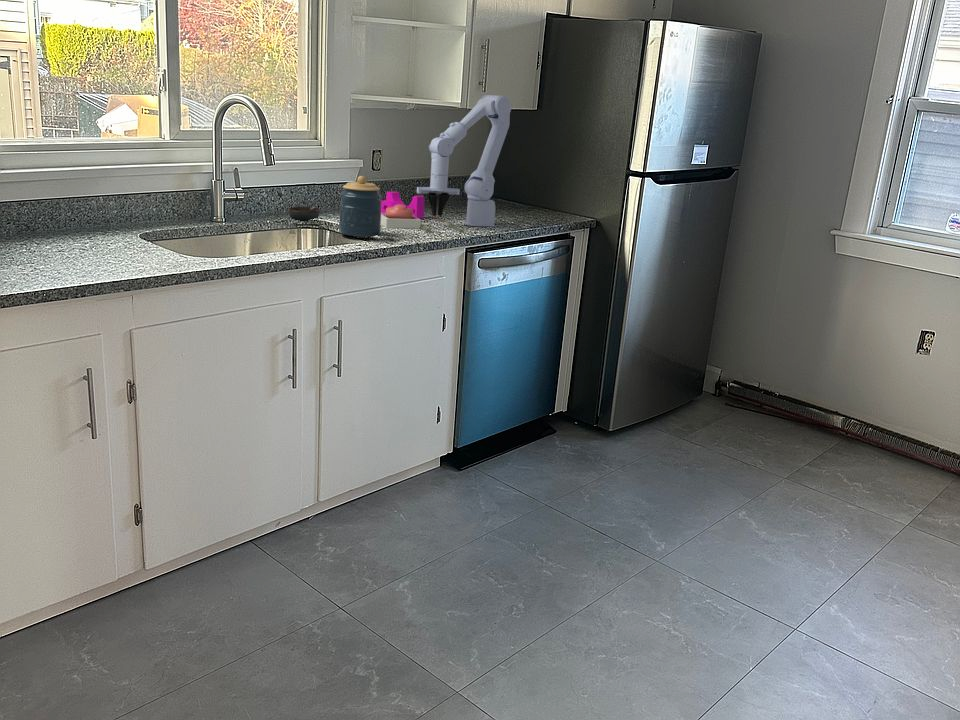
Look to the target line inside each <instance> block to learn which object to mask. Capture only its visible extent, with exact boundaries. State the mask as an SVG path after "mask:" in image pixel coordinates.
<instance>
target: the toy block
mask: <svg viewBox="0 0 960 720" xmlns="http://www.w3.org/2000/svg"><path fill="white" fill-rule="evenodd" d="M385 197H386V200H380V205H381V207H382V209H381V214H386V208H388V207H394V206H395V205H399V204H400V205H404V206H405V207H406V208H409V209H413V216H415V217H417V218H419V219H423V218H424V217H425V198H426V197H425V196H424V195H414V196H412V199H411V202H410V204H409V205H406V204H405V203H404V202H403V200H402V198H401V196H400V192H399V191H386V196H385Z"/></svg>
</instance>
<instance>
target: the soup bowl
mask: <svg viewBox="0 0 960 720" xmlns="http://www.w3.org/2000/svg"><path fill="white" fill-rule="evenodd" d="M287 211H288V213H289V217H290V219H295V220H300V221H308V220H310V219H314V218H319V216H320V211H321V208H319V207H316V206H292V207H289V208H288V210H287ZM293 224H296V223H293ZM296 226H318V225H317V224H297V225H296Z"/></svg>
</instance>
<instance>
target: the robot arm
mask: <svg viewBox="0 0 960 720" xmlns="http://www.w3.org/2000/svg"><path fill="white" fill-rule="evenodd" d="M512 109H513V106H512V104H511V101H510V98H509V97H508V96H507V95H503V94H502V95H495V94H485V95H483V96H482V97H481V98H480V99H479V100H478V101H477V103H476V105H475V106H474V107H473V108H472V109H471V110H470V111H469V112H468V113H467V114H466V115H465V116H464V117H463V118H462V119H461V120H460V121H459V122H458V121H455V122H451V123H449V126H448V127H447V129H446V130H445V131H443V132H441V133H440V134H439V137H438V136H437V137H434V138H433V139H432V140H431V142H430V144H429V145H428V150H429V152H430V154H431V156H430V157H431V164H430V181H429V182H430V184H429V186H417V187H416V194H419V195H421V194H426V197H427V199H428V202H429V204H430V210H431V215H433V216H437V217H438V216H439V217H442V216H443V212H444V208H445V207H446V204H447V202H448V201H449V199H450V195H456V196H460V194H461V193H460V192H461V190H460V189H461V188H454V187H448V179H449V177H448V176H449V163H450V155H452V153H454V148H455V146H457V144H458V143H460V141H462V140H463V139H464V138H465V137H466V136H467V134H468V132H467V131H468V130H469V129H470V128H471V127H472V126H473V125H475V124H476V123H477V122H479V120H481V118H483V117H485V116H486V117H487V118H488V119H489V120H490V123H491V128H490V131H489V135H488V137H487V140H486V144H485V145H484V149H483V151H482V155H481V157H480V160H479V163H478V166H477V167H476V168H477V169H475V170H474V171H473V172H471V174H470V176H469V178H468V179H467V181H466V182H465V184H464V192H465V194H466V195H467V207H466V209H467V210H466V218H465V219H466V220H464V221H463V220H462V224H465V225H467V226H468V227H495V226H496V225H495V219H496V202H495V200H493V199H491V198H492V196H493V195H494V189H495V188H494V187H495V182H496V180H495V177H494V175H493V174H494V171H495V168H496V165H497V161H498V159H499V156H500V154H501V152H502V151H501V150H502V147H503V145H504V142H505V140H506V136H507V134H508V130H509V128H510V126H511V125H510V123H511V122H510V121H511V120H510V118H511V116H510V115H511V111H512ZM437 206H438V208H437Z"/></svg>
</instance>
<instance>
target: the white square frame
mask: <svg viewBox="0 0 960 720" xmlns="http://www.w3.org/2000/svg"><path fill="white" fill-rule="evenodd" d="M421 220H422V218H417V217H415V216H413V219H390V218H387V217H386V214H382V213H381V226H382V227H384V228H386V229H415V230H418V229H421V228H420V227H421V224H422V221H421Z"/></svg>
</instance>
